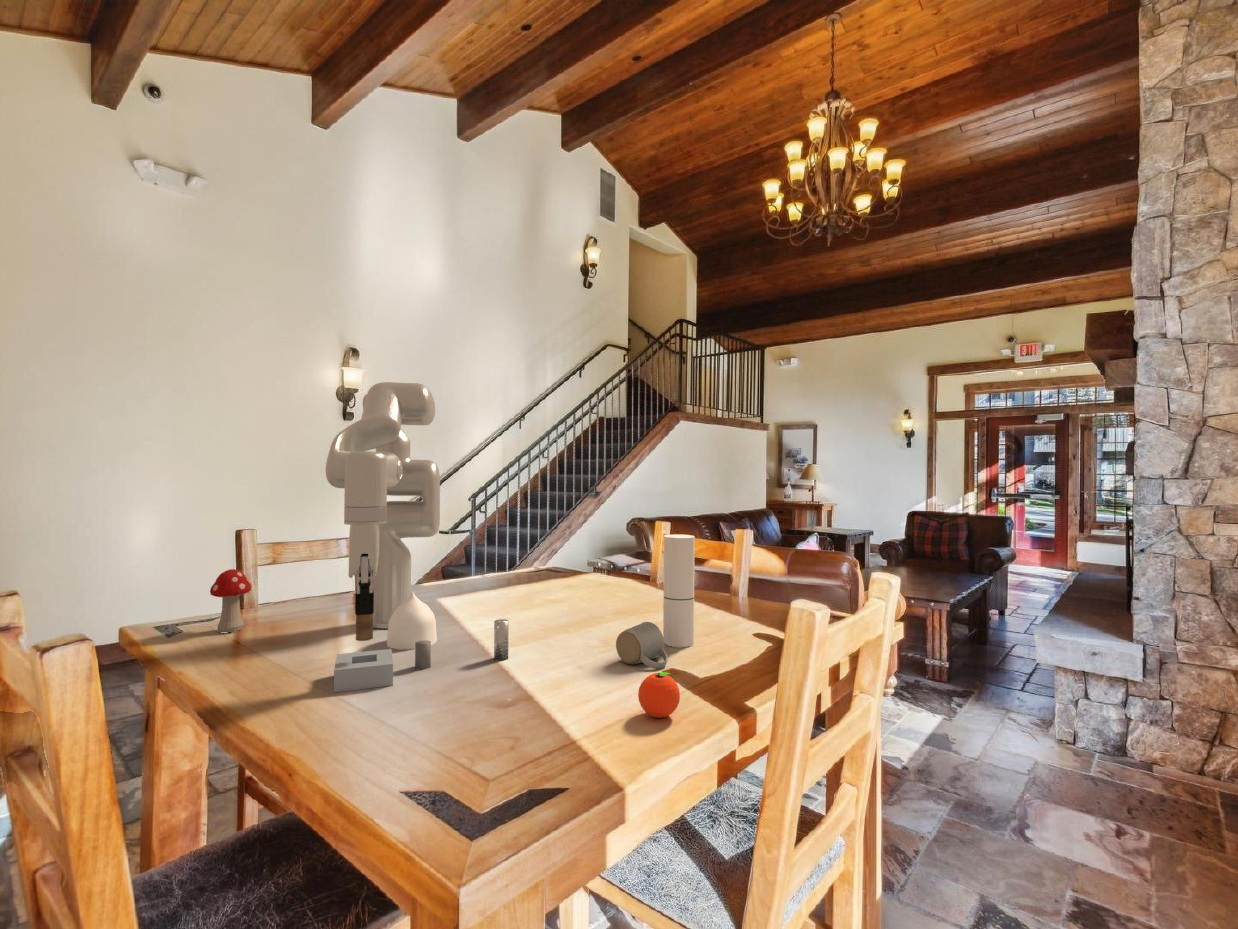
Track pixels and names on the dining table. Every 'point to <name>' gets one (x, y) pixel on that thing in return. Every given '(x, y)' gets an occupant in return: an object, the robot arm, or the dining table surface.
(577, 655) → the dining table surface
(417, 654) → the short pin
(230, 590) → the decorative mushroom
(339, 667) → the hole block
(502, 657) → the medium pin
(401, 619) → the teardrop
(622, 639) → the ceramic mug
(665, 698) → the clementine
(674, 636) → the cylindrical container
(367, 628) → the long pin
